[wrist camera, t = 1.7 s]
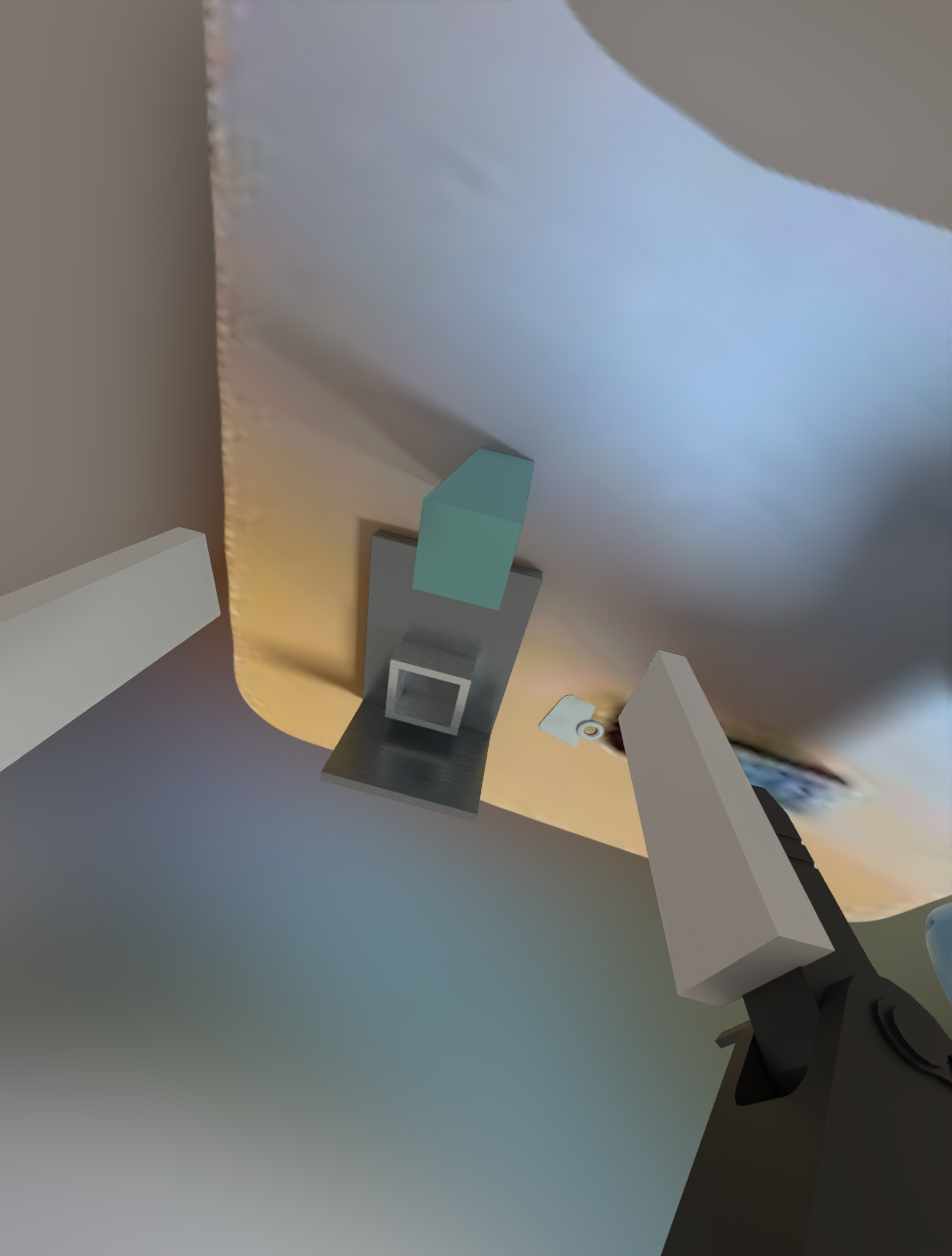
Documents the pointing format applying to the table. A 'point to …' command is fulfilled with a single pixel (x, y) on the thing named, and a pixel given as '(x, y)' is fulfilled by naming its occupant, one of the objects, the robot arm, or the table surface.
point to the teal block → (473, 529)
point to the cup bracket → (429, 685)
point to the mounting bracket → (571, 721)
